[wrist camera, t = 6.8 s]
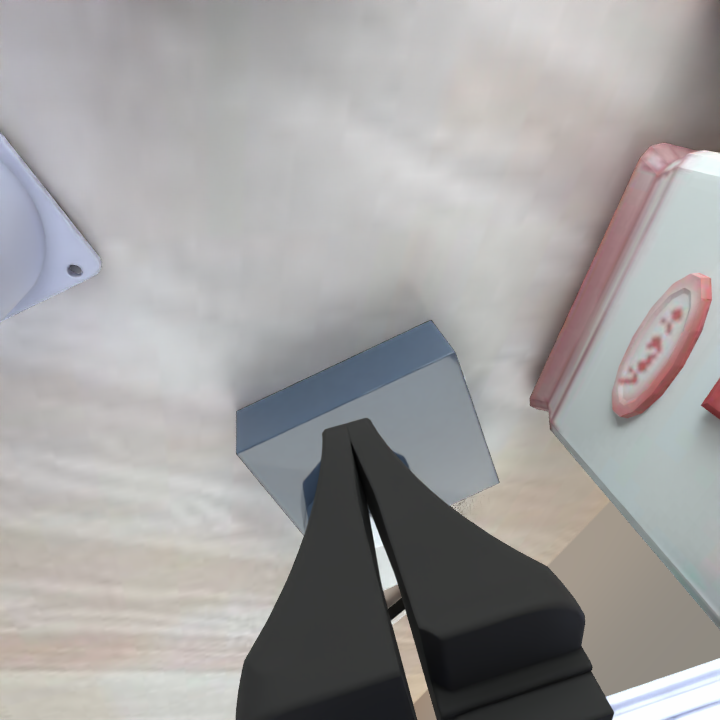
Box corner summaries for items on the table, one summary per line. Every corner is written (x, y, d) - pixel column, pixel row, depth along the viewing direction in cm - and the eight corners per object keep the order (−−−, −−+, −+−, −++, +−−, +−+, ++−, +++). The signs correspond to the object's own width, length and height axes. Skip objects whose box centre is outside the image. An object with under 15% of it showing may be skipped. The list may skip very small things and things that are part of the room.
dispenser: (322, 524, 30) (335, 598, 26) (235, 411, 24) (235, 483, 20) (479, 452, 30) (518, 515, 26) (431, 319, 24) (472, 373, 20)
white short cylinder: (352, 566, 25) (360, 601, 24) (325, 530, 23) (331, 566, 22) (412, 538, 25) (425, 572, 24) (390, 500, 23) (402, 534, 22)
